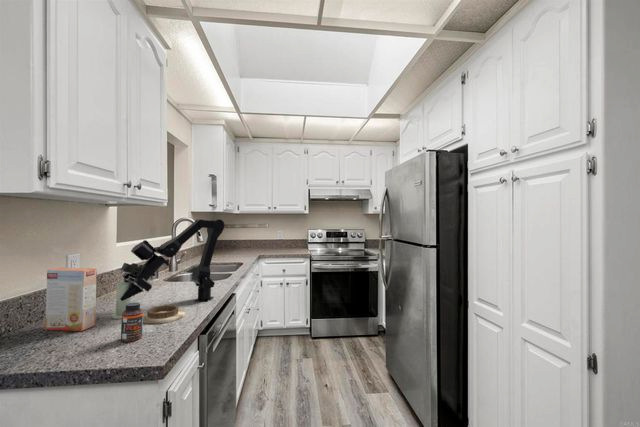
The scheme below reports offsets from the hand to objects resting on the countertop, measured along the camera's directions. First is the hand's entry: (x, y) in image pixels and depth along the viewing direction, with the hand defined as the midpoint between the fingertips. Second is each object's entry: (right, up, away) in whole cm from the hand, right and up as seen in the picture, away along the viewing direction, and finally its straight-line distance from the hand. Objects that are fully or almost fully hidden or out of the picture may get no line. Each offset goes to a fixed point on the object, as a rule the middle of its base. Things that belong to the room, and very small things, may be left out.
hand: (119, 299), depth 116 cm
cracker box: (-9, -7, -12) cm, 16 cm away
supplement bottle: (+18, -7, -21) cm, 28 cm away
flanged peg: (+1, -7, +1) cm, 7 cm away
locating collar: (+17, -7, +1) cm, 19 cm away
